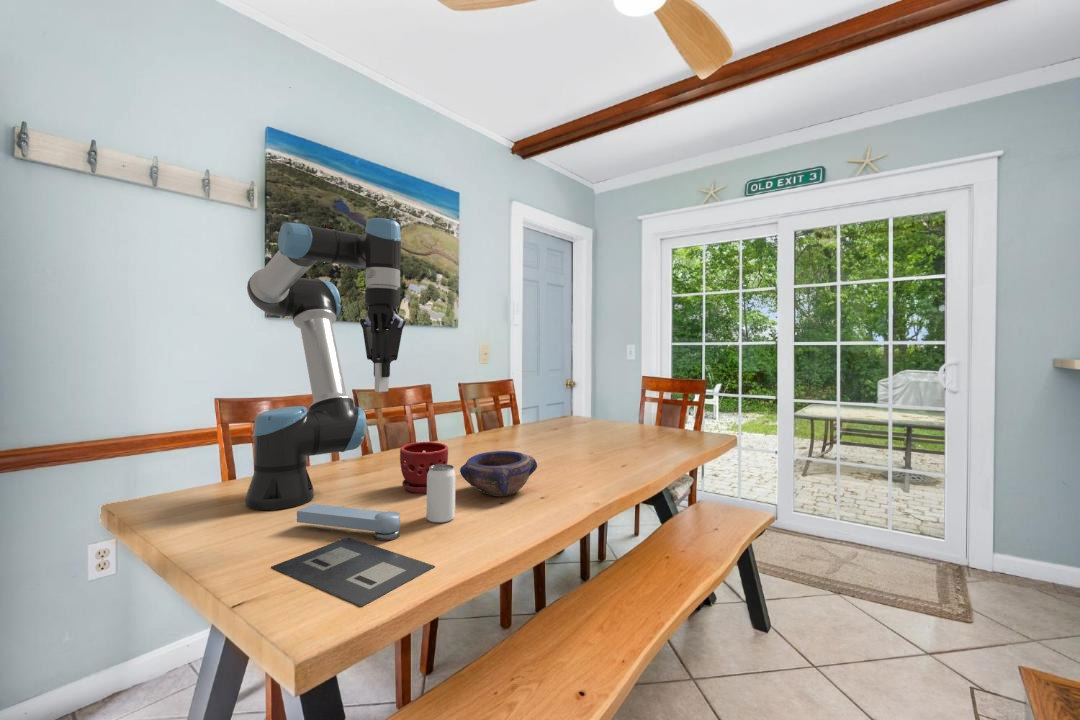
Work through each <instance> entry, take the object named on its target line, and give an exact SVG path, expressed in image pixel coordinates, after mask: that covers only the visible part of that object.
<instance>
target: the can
mask: <svg viewBox="0 0 1080 720" xmlns="http://www.w3.org/2000/svg"><path fill="white" fill-rule="evenodd" d="M454 468H455V467H454V465H452V464H448V463H447V464H439V465H433V466H430V467H429V471H428V474H427V492H426V519H427V520H428V522H430V523H434V524H443V523H450V522H451V521H453V520H454V518H455V516H456V471H455V469H454Z"/></svg>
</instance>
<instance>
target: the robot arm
mask: <svg viewBox="0 0 1080 720" xmlns="http://www.w3.org/2000/svg"><path fill="white" fill-rule="evenodd" d="M364 231H365V233H364V234H358V233H351V232H346V231H340V230H334V229H331V228H330V229H329V228H324V227H319V226H314V225H309V224H308V225H307V224H305V223H296V222H284V223H283V224H282V225H281V226H280V230H279V232H278V237H277V238H278V239H277V245H278V250H277V252H275V254H274V255H273V257H272V258H271V259H270V260H269V261H268V262H267V264H266V265H265V266H264V268H261V269H259V270H258V269H257V270H256V271H254V272H253V273H252V275H251V276H250V278H249V279H248V281H247V286H246V289H247V295H248V297H249V299H250V301H251V302H252V304H253V305H254V306H255V307H257V308H259V310H261V311H263V312H265V313H266V314H270V315H273V316H280V317H290V318H292V322H293V325H294V326H295V327H296V328H297V329H298V328H299V329H300V333H301V339H302V345H303V350H304V356H305V361H306V366H307V373H308V378H309V384H310V390H311V394H312V400H313V402H312V403H311V404H309V407H308V408H307V407H306V406H303V405H302V406H301V405H295V406H285V407H278V408H274V409H269V410H266V411H263V412H261V413H260V414H258V415H257V416H256V418H255V420H254V429H253V442H254V443H253V444H254V445H253V451H254V452H253V465H254V466H253V475H252V478H251V481H250V484H249V486H248V489H247V492H246V495H245V506H246V507H247V508H248V509H251V510H257V511H276V510H283V509H291V508H294V507H297V506H301V505H304V504H307V503H309V502H311V501H312V500H313V499H314V495H315V494H314V491H315V490H314V487H313V483H312V480H311V477H310V474H309V473H308V469H307V457H310V456H319V455H328V454H333V453H340V452H341V453H345V452H347V451H352V450H353V451H354V450H355V449H359V447H360V446H361V445H362V443H363V442H364V439H365V437H366V436H365V435H366V431H367V417H366V416H367V415H366V413H365V411H364V409H363V408H362V407H358V406H355V402H354V399H353V398H352V397H350V396H349V395H347V391H346V387H345V381H344V377H343V372H342V366H341V362H340V358H339V353H338V347H337V342H336V337H335V332H334V327H333V324H334V323H335V322H336V320H337V318H338V316H339V315H340V314H341V313H340V312H341V309H342V308H341V307H342V306H341V301H342V300H341V297H340V292H339V290H338V288H337V287H336V285H335V284H334V283H333V282H331V281H328V280H323V279H320V278H314V279H312V278H304V277H302V276H304V274H306V273H307V272H308V271H309V269H311V268H312V267H313V265H314V266H315V264H316V263H317V262H320V263H321V262H322V263H329V264H338V265H344V266H348V267H350V268H352V269H355V270H356V269H358V270H359V269H360V270H365V286H366V287H367V288H366V289H365V291H364V293H365V296H364V299H365V300H364V303H365V304H366V305H367V306H368V311H367V313H366V314H367V316H366V317H365V318H360V320H359V323H360V326H361V328H362V333H363V334H362V335H363V339H364V341H363V342H364V346H365V347H364V348H365V353H366V359H367V360H368V361H371V362H372V363H373V377H374V392H375V393H383V392H385V393H386V392H389V383H390V382H389V380H390V379H389V378H390V376H391V363H392V362H393V361H398V357H399V352H400V351H399V350H400V346H401V341H402V334H403V329H404V327H405V325H406V322H407V320H406V319H405V318H401V317H400V316H399V312H398V309H397V307H399V306H400V305H401V303H400V302H401V301H400V300H401V297H400V296H401V292H400V290H398V289H399V288H401V249H402V248H401V247H402V237H401V225H400V223H398V222H397V221H396V220H394V219H390V218H385V217H384V218H383V217H373V218H370V219H369V218H368V220H367V221H366V223H365V230H364Z"/></svg>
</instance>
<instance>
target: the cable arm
mask: <svg viewBox="0 0 1080 720" xmlns="http://www.w3.org/2000/svg"><path fill="white" fill-rule="evenodd" d="M296 523H301V524H309V525H317V526H326V527H334V528H335V527H336V528H344V529H351V530H358V531H359V530H360V531H368V532H374V533H375V532H378V533H392V532H395V531H398V530H399V529H400V530H401V513H400V512H398V511H382V510H374V509H365V508H355V507H346V506H338V505H329V504H328V505H327V504H320V503H312V504H310V505H307V506H304V507H303V508H301V509H299V510H297V511H296Z"/></svg>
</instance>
